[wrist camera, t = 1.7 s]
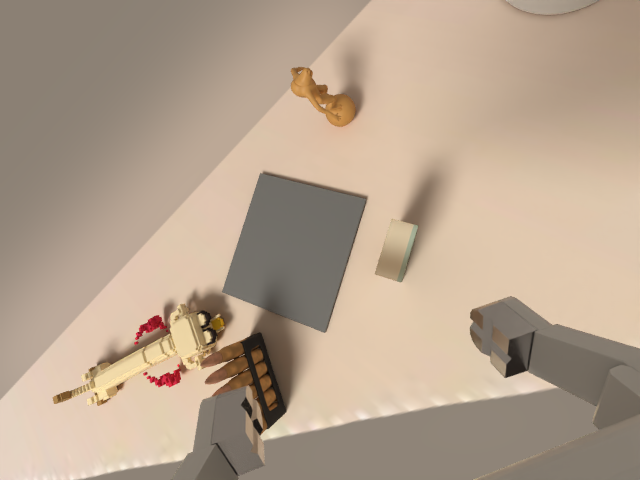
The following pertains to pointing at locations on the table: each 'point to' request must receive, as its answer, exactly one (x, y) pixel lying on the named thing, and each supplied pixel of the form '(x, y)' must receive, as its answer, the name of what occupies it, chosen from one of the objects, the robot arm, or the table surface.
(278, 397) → the ammunition clip
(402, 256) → the pale green streaked tile
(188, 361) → the cat figure
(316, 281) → the rubber mat
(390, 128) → the table surface
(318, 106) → the figurine
